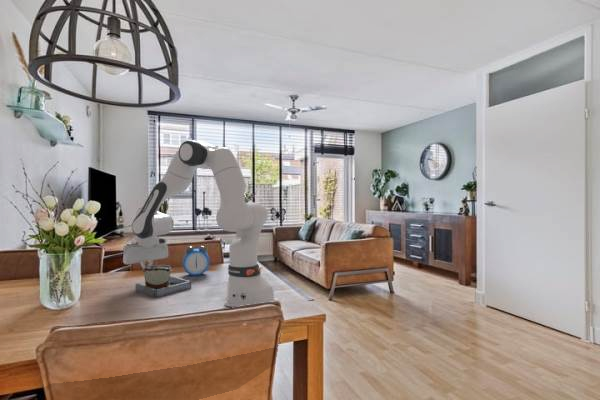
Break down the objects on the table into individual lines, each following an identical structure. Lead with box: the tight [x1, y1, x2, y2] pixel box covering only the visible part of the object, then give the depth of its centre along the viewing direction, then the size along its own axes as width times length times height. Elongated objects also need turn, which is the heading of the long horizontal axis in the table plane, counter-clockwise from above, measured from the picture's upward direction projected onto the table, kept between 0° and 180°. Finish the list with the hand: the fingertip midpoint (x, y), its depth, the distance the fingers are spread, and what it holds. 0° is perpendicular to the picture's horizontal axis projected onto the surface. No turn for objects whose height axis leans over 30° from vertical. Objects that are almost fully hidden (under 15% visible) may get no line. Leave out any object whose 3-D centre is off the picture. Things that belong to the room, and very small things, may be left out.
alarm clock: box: [182, 245, 210, 277], centre depth 166 cm, size 13×6×15 cm, turn 108°
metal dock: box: [135, 275, 192, 299], centre depth 141 cm, size 16×17×3 cm
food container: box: [142, 264, 172, 289], centre depth 143 cm, size 12×6×10 cm, turn 92°
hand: (146, 270), depth 149 cm, fingers closed
